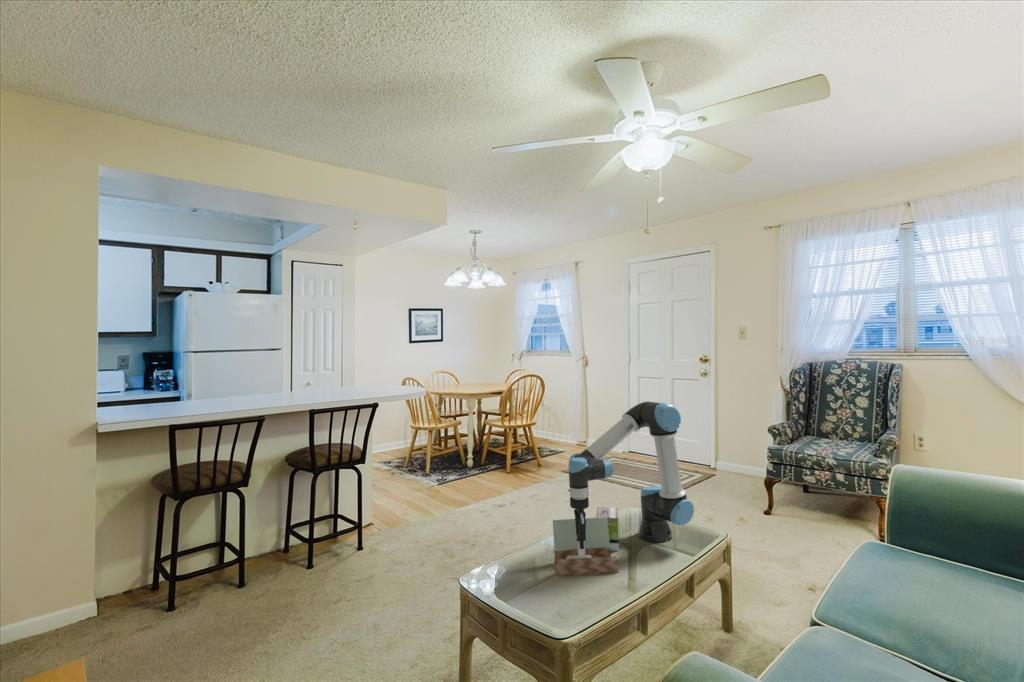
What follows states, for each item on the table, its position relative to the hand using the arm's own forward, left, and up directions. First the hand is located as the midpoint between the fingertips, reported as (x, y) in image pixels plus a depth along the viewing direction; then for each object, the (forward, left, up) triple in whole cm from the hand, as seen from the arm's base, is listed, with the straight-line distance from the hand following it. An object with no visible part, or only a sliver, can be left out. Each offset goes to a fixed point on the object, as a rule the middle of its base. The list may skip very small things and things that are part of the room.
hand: (581, 555), depth 193 cm
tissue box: (-2, -3, -6) cm, 7 cm away
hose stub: (0, -6, -4) cm, 8 cm away
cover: (-2, -10, +5) cm, 11 cm away
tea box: (-17, -25, -7) cm, 31 cm away
